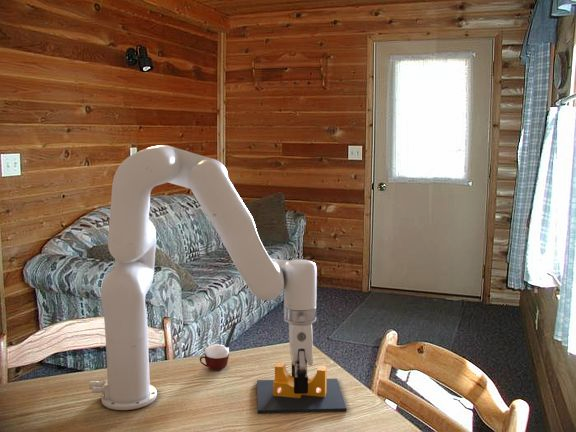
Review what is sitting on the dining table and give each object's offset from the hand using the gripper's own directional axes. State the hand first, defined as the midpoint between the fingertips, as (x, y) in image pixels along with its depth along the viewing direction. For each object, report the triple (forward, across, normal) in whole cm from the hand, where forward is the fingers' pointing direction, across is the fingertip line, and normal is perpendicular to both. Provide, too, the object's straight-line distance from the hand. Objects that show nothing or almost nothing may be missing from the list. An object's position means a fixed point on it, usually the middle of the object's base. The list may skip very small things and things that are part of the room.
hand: (299, 384), depth 146 cm
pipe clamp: (+2, 0, 0) cm, 2 cm away
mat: (+3, 0, 0) cm, 3 cm away
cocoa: (+3, +18, +20) cm, 27 cm away
